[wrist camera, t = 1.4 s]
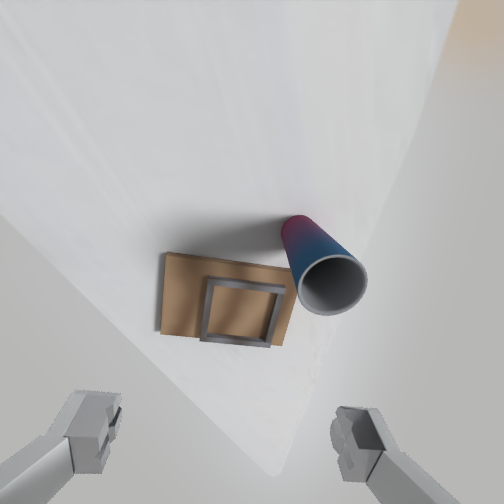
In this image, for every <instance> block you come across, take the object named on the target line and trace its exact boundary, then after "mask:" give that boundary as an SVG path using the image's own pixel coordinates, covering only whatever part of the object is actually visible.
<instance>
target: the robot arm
mask: <svg viewBox="0 0 504 504" xmlns="http://www.w3.org/2000/svg"><path fill="white" fill-rule="evenodd" d="M120 402H121V394H120V393H109V392H98V391H86V390H75V391H74V392H73V393H72V394H71V395H70V396H69V398H68V400H67V401H66V403H65V404H64V406H63V407H62V409H61V411H60V412H59V414H58V416H57V417H56V419H55V420H54V422H53V424H52V425H51V427H50V428H49V430H48V432H47V433H46V435H45V436H39V437H38V438H36V439H35V440H34V441H32V442H31V443H29V444H28V445H27V446H25V447H24V448H23V449H21V450H20V451H18V452H17V453H16V454H14V455H13V456H11V457H10V458H9V459H7V460H6V461H5V462H3V463H2V464H1V465H0V504H46V503H47V502H48V501H49V500H50V499H51V498H52V497H53V496H54V495H55V494H56V493H57V492H58V491H59V490H60V489H61V488H62V487H63V486H64V485H65V484H66V483H67V482H68V481H69V480H70V479H71V478H72V477H73V476H74V474H75V473H76V474H79V473H80V474H86V473H87V474H88V473H90V474H91V473H92V474H96V473H97V474H101V473H102V471H103V469H104V466H105V464H106V461H107V459H108V456H109V454H110V443H111V442H112V441H113V440H114V439H115V438H116V436H117V433H118V430H119V427H120V422H121V417H122V409H121V407H119V404H120ZM336 415H337V418H335V419H334V420H333V421H332V424H331V427H330V436H331V441H332V445H333V448H334V449H335V450H336V451H337V453H338V454H339V457H338V460H337V462H338V465H339V468H340V471H341V474H342V478H343V481H348V482H349V481H350V482H364V483H366V485H367V486H368V487H369V489H370V490H371V491H372V493H373V494H374V495H375V496H376V498H377V499H378V500H379V502H380V503H381V504H460V502H458V501H457V500H456V499H455V498H454V497H453V496H452V495H451V494H450V493H449V492H448V491H446V490H445V489H444V488H443V487H442V486H441V485H440V484H439V483H437V481H436V480H434V479H433V478H432V477H431V476H430V475H429V474H428V473H427V472H426V471H425V470H424V469H422V468H421V467H420V466H419V465H418V464H417V463H416V462H415V461H414V460H413V459H412V458H410V457H409V456H408V455H407V454H406V453H405V452H401V451H400V449H399V447H398V445H397V443H396V441H395V439H394V438H393V436H392V434H391V432H390V430H389V428H388V426H387V424H386V422H385V420H384V418H383V416H382V414H381V412H380V411H379V410H378V409H376V408H363V407H345V406H340V407H338V408H337V410H336Z"/></svg>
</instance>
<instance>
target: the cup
mask: <svg viewBox="0 0 504 504" xmlns="http://www.w3.org/2000/svg"><path fill="white" fill-rule="evenodd" d="M281 236H282V240H283V243H284V247H285V250H286V254H287V258H288V261H289V265H290V268H291V272H292V276H293V279H294V283H295V286H296V290H297V294H298V297H299V300H300V302H301V304H302V305H303V306H304V307H305V308H306V309H307V310H309V311H310V312H312V313H315V314H318V315H324V316H330V315H337V314H340V313H343V312H345V311H347V310H349V309H351V308H352V307H353V306H355V305H356V304H357V303H358V302H359V301H360V299H361V298H362V297H363V295H364V293H365V291H366V288H367V282H368V278H367V273H366V270H365V268H364V267H363V265H362V264H361V263H360V262H359V261H358V260H357V259H356V258H354V257H353V256H352V255H351V254H350V253H349V252H348V251H346V250H345V249H344V248H343V247H342V246H341V245H340V244H339V243H337V242H336V241H335V240H334V239H333V238H332V237H331V236H329V235H328V234H327V233H326V232H325V231H324V230H323V229H321V228H320V227H319V226H318V225H317V224H316V223H315V222H313V221H312V220H311V219H310V218H308V217H307V216H303V215H297V216H293V217H291V218H290V219H288V220H287V221H286V222H285V223H284V225H283V227H282V231H281Z"/></svg>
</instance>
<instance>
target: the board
mask: <svg viewBox="0 0 504 504" xmlns="http://www.w3.org/2000/svg"><path fill="white" fill-rule="evenodd" d="M296 296H297V290H296V286H295V283H294V279H293V276H292V272H291V269H288V268H281V267H274V266H266V265H259V264H252V263H245V262H237V261H230V260H223V259H216V258H208V257H201V256H194V255H186V254H179V253H172V252H167V255H166V263H165V277H164V291H163V305H162V319H161V333H160V334H164V335H174V336H185V337H195V338H200V341H203V342H214V343H224V344H235V345H245V346H255V347H266V348H270V346H271V345H277V346H282V344H283V340H284V337H285V333H286V330H287V327H288V323H289V320H290V316H291V313H292V310H293V306H294V303H295V300H296Z"/></svg>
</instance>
